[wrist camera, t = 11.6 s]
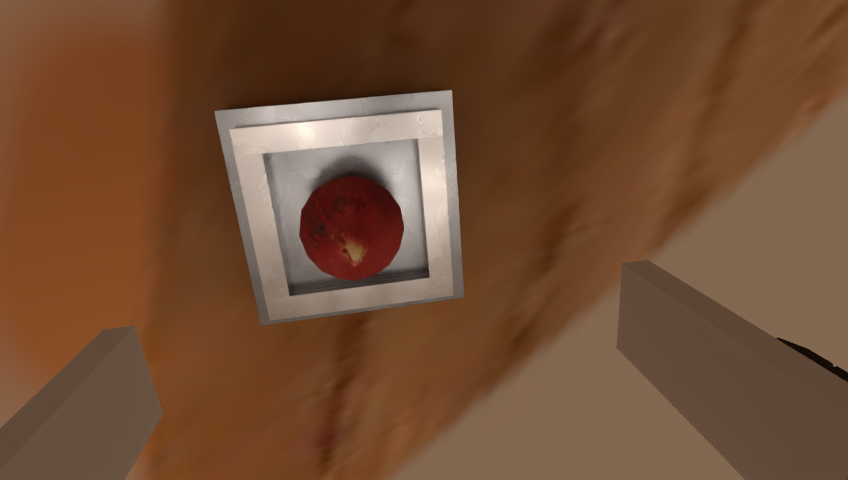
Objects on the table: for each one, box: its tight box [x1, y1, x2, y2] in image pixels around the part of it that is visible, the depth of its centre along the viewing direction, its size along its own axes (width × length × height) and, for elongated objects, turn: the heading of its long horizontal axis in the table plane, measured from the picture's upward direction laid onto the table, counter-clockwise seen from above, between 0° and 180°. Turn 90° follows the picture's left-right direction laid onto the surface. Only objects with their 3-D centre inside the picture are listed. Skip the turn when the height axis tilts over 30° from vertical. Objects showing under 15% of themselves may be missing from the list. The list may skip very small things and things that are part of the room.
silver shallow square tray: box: [214, 90, 464, 325], centre depth 30 cm, size 14×14×4 cm
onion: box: [299, 176, 404, 281], centre depth 26 cm, size 6×6×8 cm
